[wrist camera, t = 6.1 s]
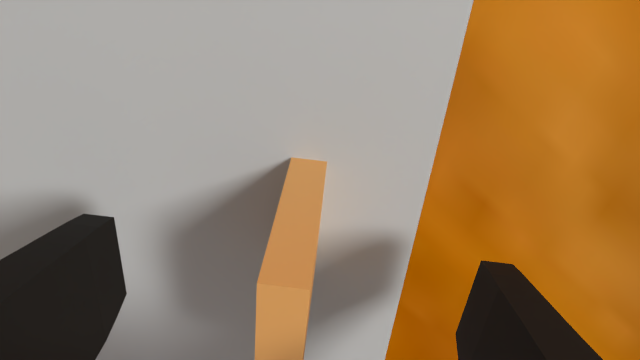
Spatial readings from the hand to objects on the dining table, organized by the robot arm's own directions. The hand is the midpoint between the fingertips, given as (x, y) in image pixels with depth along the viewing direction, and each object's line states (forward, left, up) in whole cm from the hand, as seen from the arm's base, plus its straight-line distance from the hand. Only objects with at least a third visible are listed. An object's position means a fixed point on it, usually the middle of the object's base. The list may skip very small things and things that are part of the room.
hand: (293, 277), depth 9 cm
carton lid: (0, +4, -3) cm, 5 cm away
